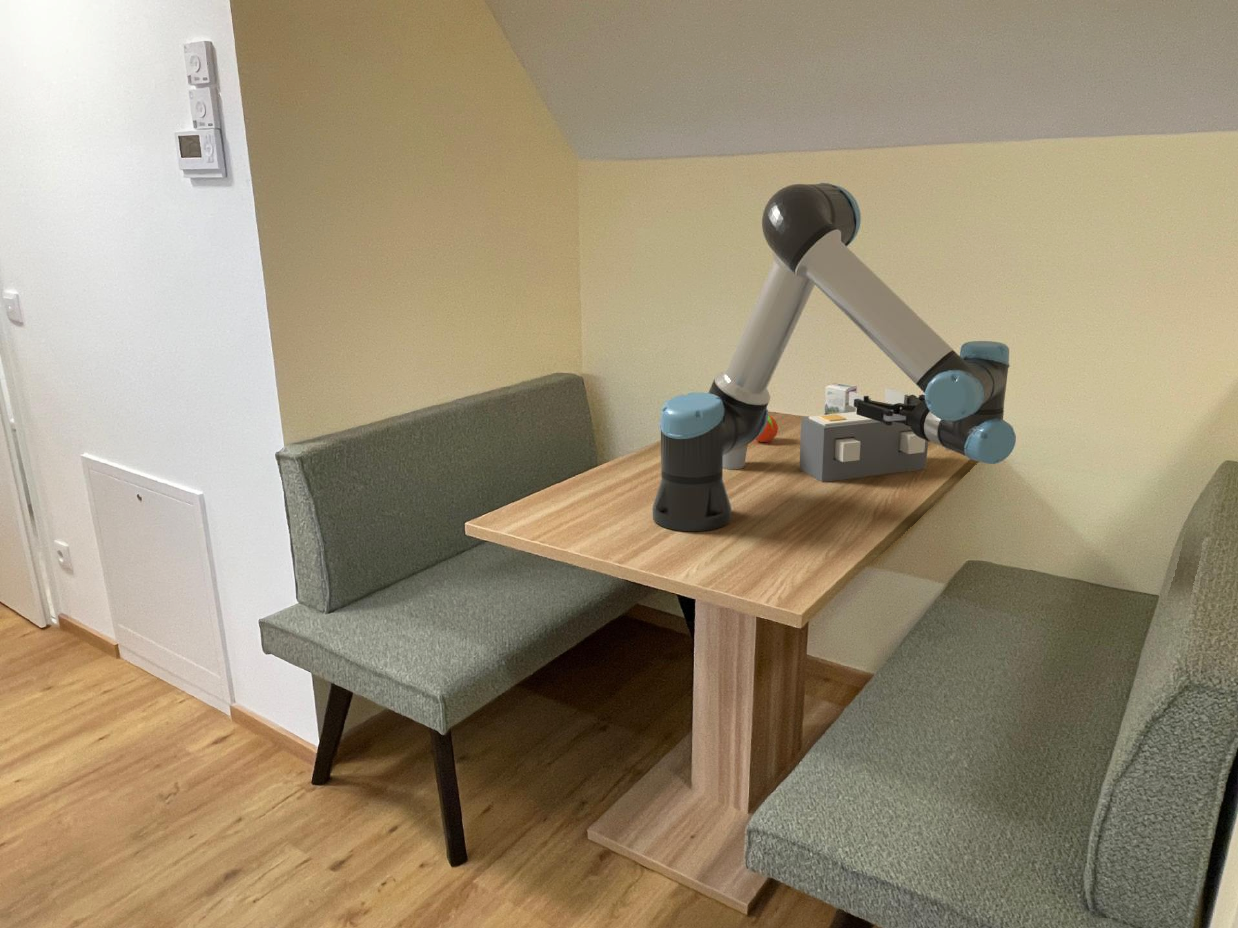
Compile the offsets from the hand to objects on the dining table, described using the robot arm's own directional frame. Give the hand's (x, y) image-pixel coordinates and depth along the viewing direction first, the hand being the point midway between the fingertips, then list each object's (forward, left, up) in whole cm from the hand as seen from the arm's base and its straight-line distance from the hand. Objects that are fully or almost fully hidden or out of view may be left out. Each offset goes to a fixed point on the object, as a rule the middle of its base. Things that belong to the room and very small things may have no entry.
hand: (868, 396), depth 177 cm
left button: (+7, +4, -15) cm, 17 cm away
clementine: (+34, +23, -20) cm, 46 cm away
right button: (+15, -10, -15) cm, 23 cm away
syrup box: (+36, +5, -20) cm, 42 cm away
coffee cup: (+13, +29, -20) cm, 38 cm away
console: (+15, 0, -20) cm, 25 cm away
